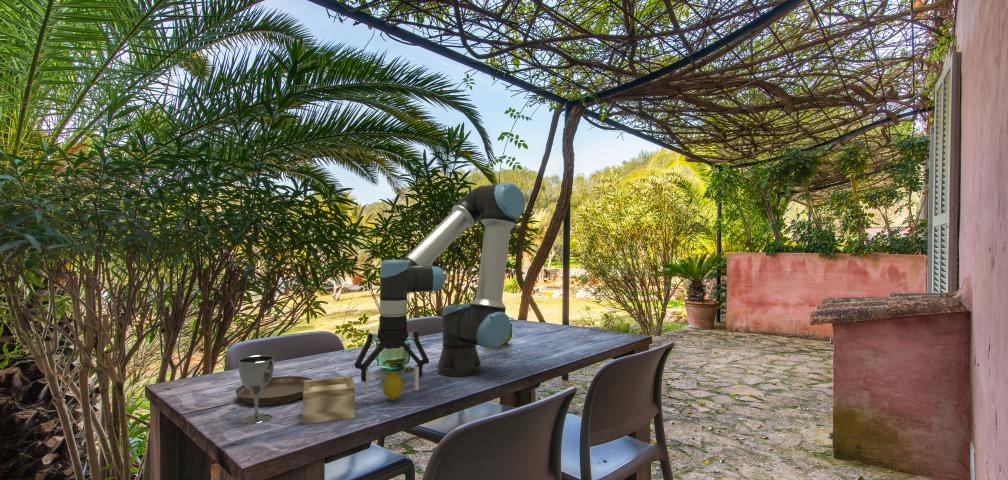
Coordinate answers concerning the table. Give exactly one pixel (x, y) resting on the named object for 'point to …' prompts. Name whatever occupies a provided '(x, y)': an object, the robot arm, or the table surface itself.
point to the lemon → (393, 386)
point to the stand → (328, 399)
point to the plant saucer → (276, 391)
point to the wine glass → (256, 381)
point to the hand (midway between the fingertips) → (391, 391)
